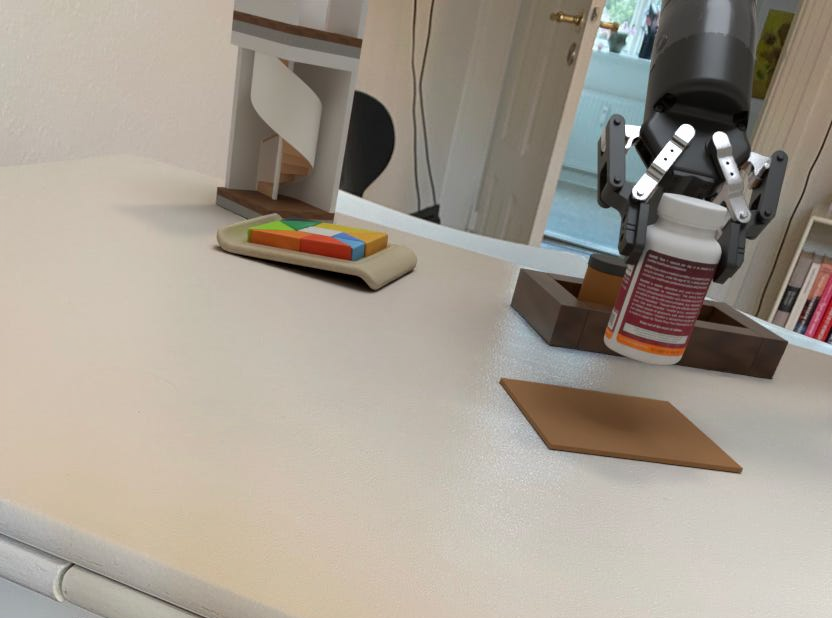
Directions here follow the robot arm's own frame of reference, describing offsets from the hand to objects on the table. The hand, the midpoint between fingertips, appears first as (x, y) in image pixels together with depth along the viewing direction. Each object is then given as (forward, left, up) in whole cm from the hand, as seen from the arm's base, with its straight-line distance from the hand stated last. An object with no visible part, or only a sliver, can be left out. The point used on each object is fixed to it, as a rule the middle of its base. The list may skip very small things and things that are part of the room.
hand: (678, 267), depth 65 cm
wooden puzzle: (+20, -44, -13) cm, 49 cm away
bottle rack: (-14, -30, -13) cm, 35 cm away
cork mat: (0, -2, -13) cm, 13 cm away
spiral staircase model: (+24, -64, -13) cm, 69 cm away
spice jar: (-9, -30, -13) cm, 33 cm away
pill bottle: (0, -2, -7) cm, 7 cm away
